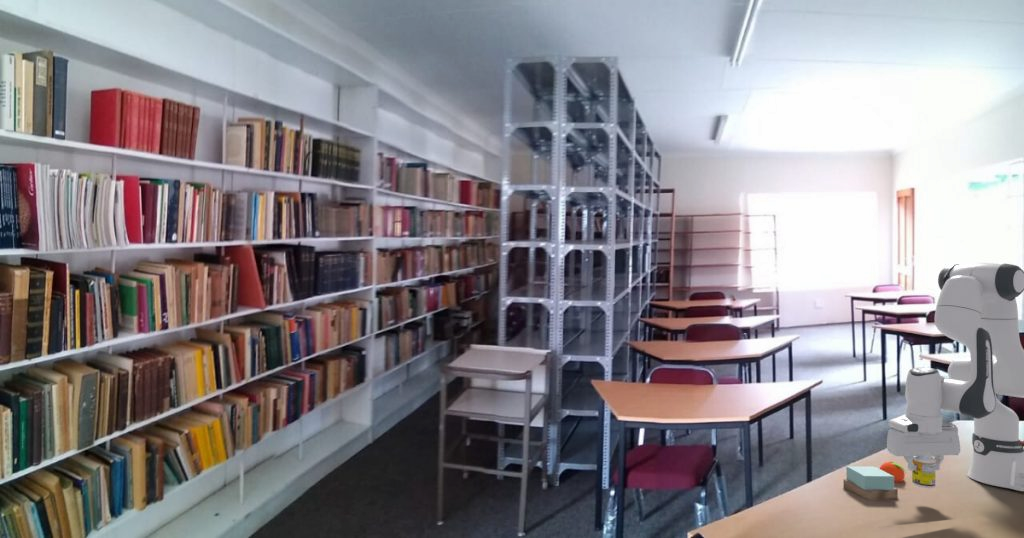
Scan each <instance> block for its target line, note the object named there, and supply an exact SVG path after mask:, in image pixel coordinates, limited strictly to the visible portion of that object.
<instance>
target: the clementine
mask: <svg viewBox="0 0 1024 538" xmlns="http://www.w3.org/2000/svg"><path fill="white" fill-rule="evenodd" d="M879 469H881V470H883V471H885V472H887V473H889V474H890V475H892V476H894V483H901V482H903V481H904V479H905V474H907V473H906V470H905V469H904V468H903V467H902V466H901V465H900V464H899V463H897V462H893V461H886V462H884V463H882V464H881V465H880V467H879Z"/></svg>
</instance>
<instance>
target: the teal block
mask: <svg viewBox="0 0 1024 538" xmlns="http://www.w3.org/2000/svg"><path fill="white" fill-rule="evenodd" d="M846 479H848V480H849V481H851V482H853V483H854V484H856V485H858V486H859V487H861V488H863V489H864V490H894V487H895V482H894V476H892V475H890V474H889V473H887V472H885V471H883V470H881V469H880V467H879V468H878V467H876V466H872V465H871V466H867V465H866V466H864V465H863V466H856V465H854V466H851V465H846Z"/></svg>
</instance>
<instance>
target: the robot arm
mask: <svg viewBox="0 0 1024 538" xmlns="http://www.w3.org/2000/svg"><path fill="white" fill-rule="evenodd" d="M937 282H938V283H937V284H938V287H939V290H940V294H939V296H938V300H937V303H936V308H935V313H934V325H935V327H936V329H937V330H938V331H939V333H941V334H942V335H944V336H946V337H947V338H949V339H951V340H953V341H955V342H957V343H959V344H961V345H963V346H965V347H966V348H967V350H968V351H969V354H970V356H969V357H956V358H955V359H953V360H952V361H951V362H950V364H949V366H947V367H948V368H947V375H948V377H945V376H942V375H941V374H940V371H939V370H938V369H936V368H934V367H933V368H932V367H929V366H923V367H922V366H918V367H913V368H911V369H909V370H908V372H907V375H906V381H905V399H906V408H905V413H904V414H902V415H900V416H897V417H895V418H891V419H890V420H888V426H889V427H890V429H889V430H888V431H887V438H886V449H887V451H888V453H889V454H891V455H892V456H895V457H903V458H904V460H905V462H906V463H907V469H908V470H909V471H917V465H916V464H914V463H913V461H912V460H913V459H914V456H925V455H926V453H931V455H932V457H933V458H934V459H935V471H940V467H941V464H942V462H943V461H944V459H945V457H944V456H958V455H959V454H960V453H961V444H960V441H961V440H960V437H959V428H958V427H957V425H956V424H955V423H952V422H943V413H942V410H943V411H946V412H951V413H955V414H960V415H964V416H967V417H969V418H973V427H974V428H973V433H972V437H971V439H972V440H971V444H972V447H973V448H972V453H971V459H970V466H969V467H968V472H967V476H968V478H970V479H972V480H974V481H977V482H980V483H983V484H986V485H990V486H995V487H999V488H1005V489H1010V490H1015V491H1019V492H1024V440H1021V439H1020V418H1019V416H1018V415H1017V413H1016V412H1015V411H1014V410H1013V409H1012V408H1010V407H1008V406H1006V405H1005V404H1003V403H1002V402H1001V401H1000V400H999V398H998V397H997V395H1000V396H1008V397H1013V398H1014V397H1015V398H1021V399H1023V398H1024V348H1023V346H1022V343H1021V339H1020V331H1019V309H1018V304H1017V299H1016V298H1018V297H1019V296H1020V295H1022V293H1023V292H1024V270H1023V269H1022V268H1021V267H1020V266H1018V265H1017V264H1011V263H1010V264H1009V263H1002V264H1001V263H993V262H991V263H989V262H988V263H987V262H979V263H966V264H957V263H956V264H949V265H946V266H945V267H943V268H942V269H941V270H940V271H939V274H938V277H937ZM993 355H994V357H995V358H996V359H993Z"/></svg>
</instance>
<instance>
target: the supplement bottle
mask: <svg viewBox="0 0 1024 538" xmlns="http://www.w3.org/2000/svg"><path fill="white" fill-rule="evenodd" d="M912 461H913V463H914V464H916V465H917V471H912V472H911V473H912V477H911V478H912V480H911V481H912V483H913V485H915V486H917V487H919V488H924V489H933V488H935V487H936V470H935V457H933V456H932V455H931V453H926V455H925V456H914V459H913V460H912Z"/></svg>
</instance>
